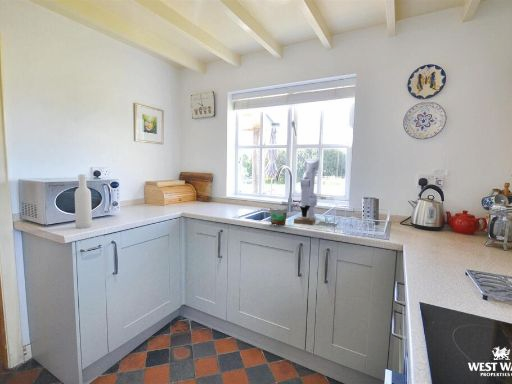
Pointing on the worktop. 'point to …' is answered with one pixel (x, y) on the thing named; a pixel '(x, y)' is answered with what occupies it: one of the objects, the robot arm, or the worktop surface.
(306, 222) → the block
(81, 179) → the bottle
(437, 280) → the worktop surface
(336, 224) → the mat
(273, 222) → the food container
